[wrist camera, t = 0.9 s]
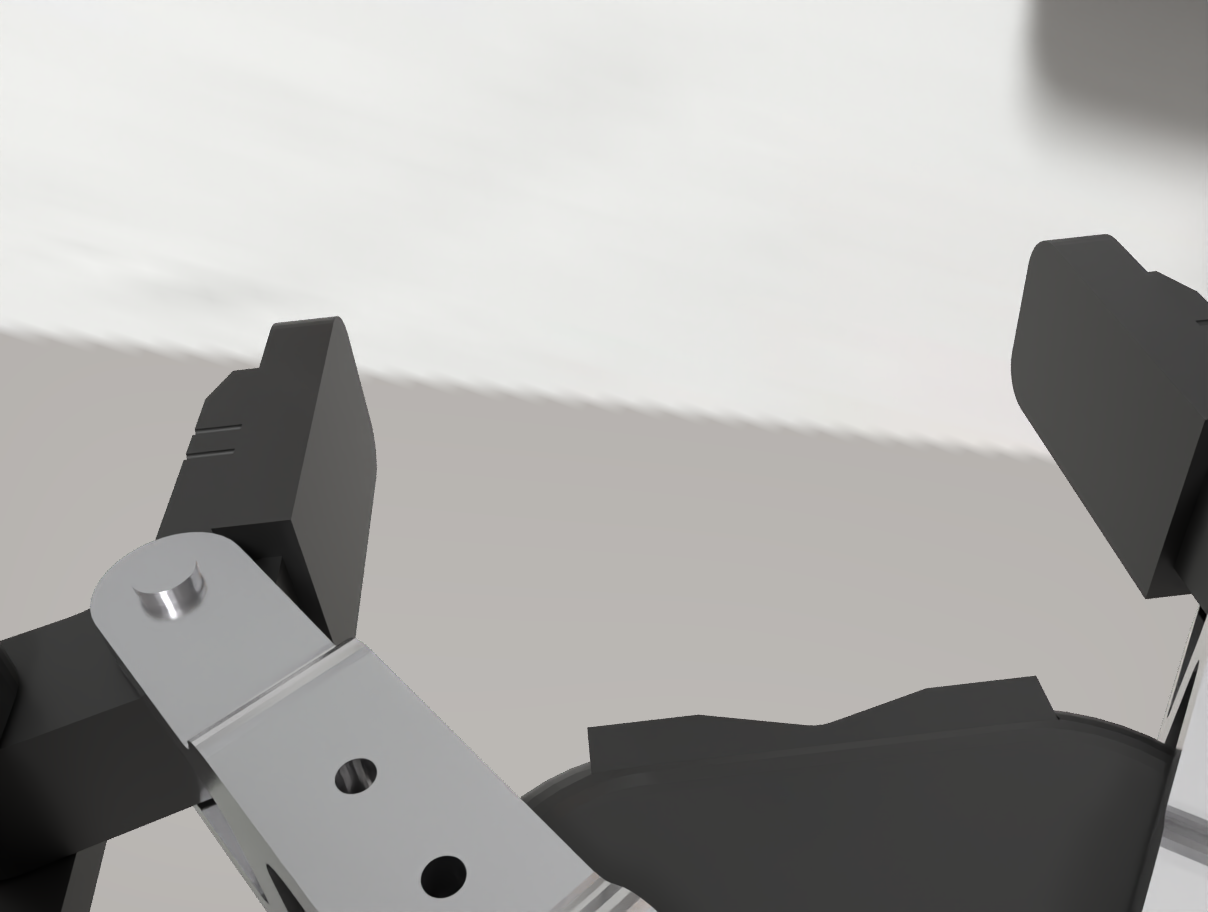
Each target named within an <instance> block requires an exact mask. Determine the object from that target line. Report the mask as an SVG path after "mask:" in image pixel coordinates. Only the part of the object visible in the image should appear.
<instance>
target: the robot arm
mask: <svg viewBox="0 0 1208 912" xmlns="http://www.w3.org/2000/svg"><path fill="white" fill-rule="evenodd" d="M1011 377H1012V384H1013V389H1014V393H1015V396H1016V399H1017V402H1018V404H1019V406H1020V408H1021V409H1022V411H1023V413H1024V414H1025V416H1026V417H1027V419H1028V420H1029V422H1030V423H1031V425H1032V426H1033V428H1034V429H1035V431H1036V432H1037V434H1038V435H1039V437H1040V439H1041V440H1042V442H1043V443H1044V445H1045V446H1046V448H1047V449H1048V451H1049V452H1050V454H1051V455H1052V457H1053V458H1054V460H1055V461H1056V463H1057V465H1058V466H1059V468H1060V469H1061V471H1062V472H1063V474H1064V475H1065V477H1066V478H1067V480H1068V481H1069V483H1070V484H1071V486H1072V487H1073V489H1074V490H1075V492H1076V494H1077V495H1078V497H1079V498H1080V500H1081V501H1082V503H1083V504H1084V506H1085V507H1086V509H1087V510H1088V512H1089V513H1090V515H1091V517H1092V518H1093V519H1094V521H1095V523H1096V524H1097V526H1098V527H1099V529H1100V530H1101V532H1102V533H1103V535H1104V536H1105V538H1106V539H1107V541H1108V542H1109V544H1110V546H1111V547H1112V549H1113V550H1114V552H1115V553H1116V555H1117V556H1118V558H1119V559H1120V561H1121V562H1122V564H1123V565H1124V567H1125V569H1126V570H1127V571H1128V573H1129V575H1130V576H1131V578H1132V579H1133V581H1134V582H1135V583H1136V585H1137V587H1138V588H1139V590H1140V591H1141V593H1142V595H1143V596H1144V597H1145V599H1151V598H1159V597H1168V596H1177V595H1185V594H1192V595H1193V596H1194V597H1195V599H1196V600H1197V602H1198V603H1199V607H1198V609H1197V612H1196V615H1195V617H1194V620H1193V622H1192V625H1191V628H1190V632H1189V635H1188V638H1187V641H1186V645H1185V648H1184V651H1183V655H1182V658H1181V661H1180V665H1179V668H1178V671H1177V675H1176V678H1175V682H1174V685H1173V688H1172V692H1171V695H1170V698H1169V702H1168V705H1167V708H1166V712H1165V715H1164V718H1163V722H1162V725H1161V728H1160V732H1159V735H1158V739H1157V740H1156V739H1154V738H1152V737H1150V736H1147V735H1145V734H1143V733H1139V732H1137V731H1135V730H1132V729H1130V728H1127V727H1125V726H1122V725H1118V724H1115V723H1112V722H1108V721H1105V720H1101V719H1098V718H1094V717H1089V716H1084V715H1079V714H1074V713H1069V712H1062V711H1054V710H1053V708H1052V707H1051V705H1050V703H1049V701H1048V699H1047V697H1046V695H1045V693H1044V691H1043V689H1042V687H1041V685H1040V683H1039V681H1038V679H1037V677H1036V676H1030V677H1021V678H1013V679H1004V680H995V681H987V682H978V683H969V684H960V685H952V686H943V687H935V688H927V689H923V690H921V691H918V692H915V693H912V694H909V695H907V696H904V697H901V698H899V699H895V700H893V701H890V702H887V703H885V704H882V705H879V706H876V707H873V708H871V709H868V710H865V711H862V712H859V713H856V714H854V715H851V716H848V717H846V718H843V719H840V720H837V721H834V722H831V723H828V724H824V725H817V726H812V725H810V726H809V725H798V724H788V723H777V722H766V721H756V720H746V719H736V718H725V717H716V716H715V717H714V716H705V715H693V716H684V717H675V718H666V719H658V720H649V721H640V722H632V723H623V724H615V725H606V726H597V727H588V740H589V752H590V762H588V763H585V764H583V765H580V766H577V767H574V768H572V769H569V770H567V771H565V772H563V773H561V774H559V775H557V776H555V777H553V778H551V779H549V780H547V781H545V782H544V783H542V784H541V785H539V786H537V787H536V788H534V789H533V790H531V791H530V792H528V793H526V794H525V795H524V796H522V797H521V798H519V797H518V796H517V795H516V794H515V793H514V792H513V791H512V790H511V789H510V788H509V787H508V786H507V785H506V784H505V783H504V782H503V781H502V780H501V779H500V778H499V777H498V776H497V775H496V774H495V773H494V772H493V771H492V770H491V769H490V768H489V767H488V766H487V765H486V764H485V763H484V762H483V761H482V760H481V759H480V758H479V757H478V756H477V755H476V754H475V753H474V752H473V751H472V750H471V749H470V748H469V747H468V746H467V745H466V744H465V743H464V742H463V741H462V740H461V739H460V738H459V737H458V736H457V735H456V734H455V733H454V732H453V731H452V730H451V729H450V728H449V727H448V726H447V725H446V724H445V723H444V722H443V721H442V720H441V719H440V718H439V717H438V716H437V715H436V714H435V713H434V712H433V711H432V710H431V709H430V708H429V707H428V706H427V705H426V704H425V703H424V702H423V701H422V700H421V699H420V698H419V697H418V696H417V695H416V694H415V693H414V692H413V691H412V690H411V689H410V688H409V687H408V686H407V685H406V684H405V683H404V682H403V681H402V680H401V679H400V678H399V677H398V676H397V675H396V674H395V673H394V672H393V671H392V670H391V669H390V668H389V667H388V666H387V665H386V664H385V663H384V662H383V661H382V660H381V659H380V658H379V657H378V656H377V655H376V654H375V653H374V652H373V651H372V650H371V649H369V647H367V646H366V645H365V644H364V643H363V642H361V641H360V640H358V639H356V638H355V636H356V628H357V620H358V612H359V605H360V598H361V590H362V582H363V574H364V566H365V559H366V552H367V544H368V536H369V528H370V520H371V513H372V505H373V497H374V490H375V482H376V470H377V467H376V466H377V465H376V449H375V441H374V434H373V429H372V425H371V421H370V417H369V413H368V409H367V405H366V402H365V398H364V394H363V390H362V387H361V382H360V379H359V375H358V371H357V367H356V363H355V360H354V356H353V352H352V348H351V344H350V341H349V337H348V333H347V330H346V327H345V325H344V323H343V321H342V319H341V318H340V317H338V316H336V317H327V318H317V319H308V320H299V321H290V322H281V323H275V324H273V326H272V328H271V330H270V333H269V337H268V340H267V343H266V347H265V350H264V353H263V357H262V360H261V363H260V367H259V368H255V369H246V370H237V371H233V372H232V373H231V374H230V375H229V376H228V377H227V378H226V379H225V380H224V381H223V382H222V383H221V384H220V385H219V386H218V387H217V388H216V389H215V390H214V391H213V392H212V393H211V394H210V395H209V396H208V397H207V398H206V400H205V402H204V405H203V408H202V411H201V413H200V416H199V419H198V422H197V425H196V428H195V432H196V435H193V436H192V439H191V441H190V444H189V447H188V450H187V453H186V455H187V460H184V461H183V464H182V467H181V470H180V473H179V475H178V478H177V481H176V484H175V486H174V490H173V492H172V495H171V498H170V501H169V503H168V506H167V509H166V512H165V514H164V517H163V520H162V523H161V526H160V528H159V531H158V535H157V537H156V540H155V541H152V542H150V543H147V544H145V545H143V546H141V547H139V548H137V549H136V550H134V551H132V552H131V553H129V554H127V555H126V556H124V557H123V558H122V559H120V560H119V561H118V562H116V563H115V565H113V566H112V567H111V568H110V569H109V570H108V571H107V572H106V573H105V575H104V576H103V577H102V578H101V580H100V581H99V583H98V585H97V586H96V588H95V589H94V592H93V595H92V598H91V605H90V609H88V610H86V611H84V612H82V613H79V614H77V615H74V616H72V617H69V618H67V619H63V620H60V621H58V622H55V623H52V624H49V625H46V626H43V627H40V628H37V629H34V630H31V631H28V632H26V633H23V634H19V635H17V636H14V637H11V638H8V639H5V640H2V641H0V912H90V907H91V903H92V899H93V895H94V891H95V887H96V883H97V878H98V875H99V870H100V866H101V862H102V858H103V854H104V850H105V846H106V842H107V840H109V839H111V838H114V837H116V836H119V835H121V834H124V833H126V832H129V831H131V830H134V829H136V828H139V827H141V826H144V825H146V824H149V823H151V822H154V821H156V820H159V819H161V818H164V817H166V816H169V815H171V814H174V813H176V812H179V811H181V810H184V809H186V808H189V807H191V806H193V807H194V808H195V810H196V811H197V813H198V814H199V815H200V817H201V818H202V820H203V821H204V823H205V824H206V825H207V827H208V828H209V830H210V831H211V833H212V834H213V835H214V837H215V838H216V840H217V841H218V843H219V844H220V845H221V847H222V848H223V850H224V851H225V852H226V854H227V855H228V857H229V858H230V860H231V861H232V863H233V864H234V865H235V867H236V868H237V870H238V871H239V873H240V874H241V875H242V877H243V878H244V880H245V881H246V883H247V884H248V885H249V887H250V888H251V890H252V891H253V892H254V894H255V895H256V897H257V898H258V900H259V901H260V903H261V904H262V905H263V907H264V908H265V910H266V911H267V912H1208V302H1207V301H1206V300H1205V299H1204V298H1203V297H1202V296H1201V295H1200V294H1199V293H1198V292H1197V291H1195V290H1193V289H1191V288H1189V287H1187V286H1185V285H1183V284H1181V283H1179V282H1177V281H1175V280H1173V279H1171V278H1169V277H1167V276H1165V275H1163V274H1161V273H1159V272H1157V271H1154V272H1147V271H1146V270H1145V269H1144V268H1143V267H1142V266H1141V265H1140V264H1139V263H1138V262H1137V261H1136V260H1135V259H1134V258H1133V257H1132V255H1131V254H1130V253H1129V252H1128V251H1127V250H1126V249H1125V248H1124V247H1123V246H1122V245H1121V244H1120V243H1119V242H1118V241H1117V240H1116V239H1115V238H1114V237H1112V236H1110V235H1108V234H1102V235H1093V236H1083V237H1074V238H1065V239H1056V240H1047V241H1042V242H1040V243H1038V244H1037V245H1036V247H1035V248H1034V250H1033V252H1032V254H1031V257H1030V260H1029V265H1028V270H1027V275H1026V281H1025V286H1024V292H1023V297H1022V302H1021V308H1020V313H1019V319H1018V324H1017V329H1016V335H1015V340H1014V345H1013V351H1012V358H1011Z"/></svg>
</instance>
